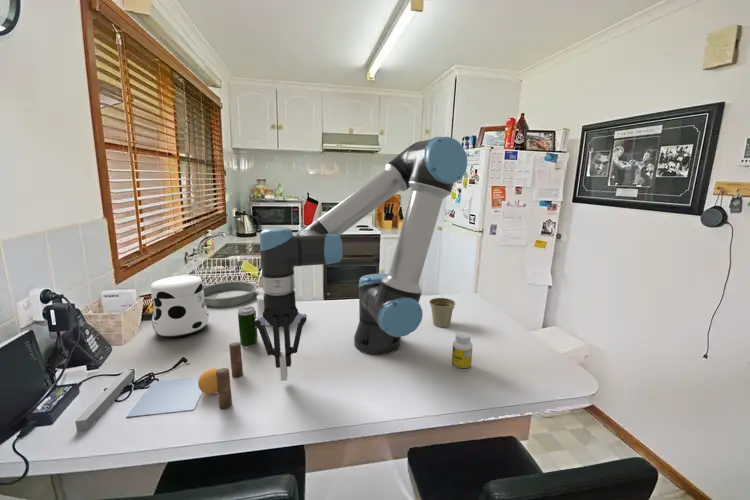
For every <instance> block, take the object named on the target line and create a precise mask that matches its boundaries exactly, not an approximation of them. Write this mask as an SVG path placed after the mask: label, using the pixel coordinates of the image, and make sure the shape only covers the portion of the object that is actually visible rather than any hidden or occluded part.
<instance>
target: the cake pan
mask: <svg viewBox="0 0 750 500" xmlns="http://www.w3.org/2000/svg"><path fill="white" fill-rule="evenodd" d="M203 291H204V301H205V304H206V307H217V308H218V307H230V306H235V305H238V304H243V303H246V302H248V301H250V300H251V299H253V298H254V294H255V291H257V285H256V284H254V283H253V282H247V281H225V282H219V283H214V284H211V285H206V286H203ZM233 291H238V292H239V291H240V292H247V293H244V294H241V295H236V296H228V297H218V295H219V294H222V293H224V292H233Z"/></svg>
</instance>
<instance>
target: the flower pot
mask: <svg viewBox="0 0 750 500" xmlns="http://www.w3.org/2000/svg"><path fill="white" fill-rule="evenodd" d="M428 302H429V305H430V308H431V316H432V324H433V326H435V327H439V328H443V327H444V328H448V327H450V326H451V322H452V317H453V316H452V315H453V310H454V308H455V306H456V301H455V300H453V299H451V298H447V297H434V298H432V299H430V300H428Z"/></svg>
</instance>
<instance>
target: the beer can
mask: <svg viewBox="0 0 750 500" xmlns="http://www.w3.org/2000/svg"><path fill="white" fill-rule="evenodd" d="M237 310H238V311H237V318H238V319H237V321H238V330H239V331H238V332H239V343H240V344H241V347H242V348H245V347H249V348H252V346H253V347H255V346H256V345H257V344H258V343H259V337H258V328H257V327H256V326H255V325H254V321H255V319H256V318H257V311H256V308H255V307H254V306H251V305H250V306H247V305H246V306H242V307H240V308H239V309H237Z"/></svg>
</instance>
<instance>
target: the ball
mask: <svg viewBox="0 0 750 500" xmlns="http://www.w3.org/2000/svg"><path fill="white" fill-rule="evenodd" d="M217 370H219V369H217V368H208V369H206V370H205V371H203V372H202V373H201V374H200V376H199V377H200V378H199V380H198V386H199V389H200V390H201V391H202V392H203V393H202V394H205V395H213V394H216V393H218V389H217V380H216V371H217Z"/></svg>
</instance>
